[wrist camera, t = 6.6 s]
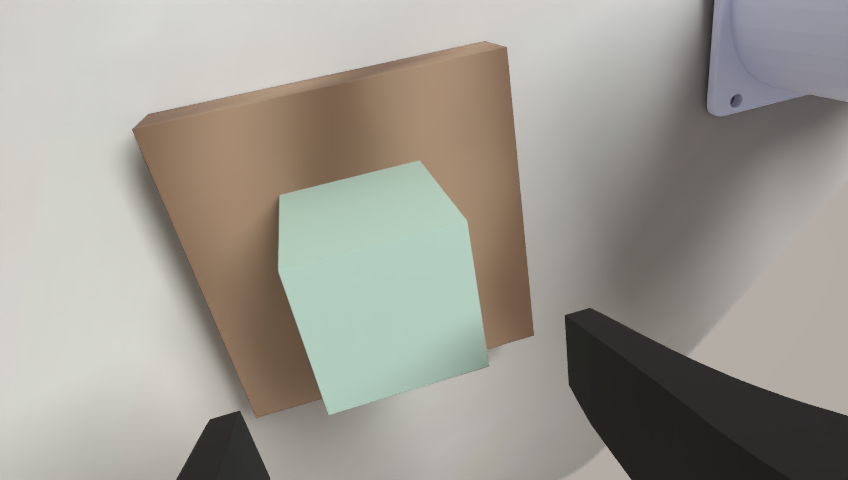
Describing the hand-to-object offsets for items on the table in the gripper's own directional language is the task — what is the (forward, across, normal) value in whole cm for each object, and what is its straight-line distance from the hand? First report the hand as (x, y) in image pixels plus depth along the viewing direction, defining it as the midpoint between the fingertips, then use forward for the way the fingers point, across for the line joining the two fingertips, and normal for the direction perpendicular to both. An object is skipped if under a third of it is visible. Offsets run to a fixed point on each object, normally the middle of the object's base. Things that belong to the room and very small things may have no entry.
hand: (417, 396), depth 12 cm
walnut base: (+9, 0, 0) cm, 9 cm away
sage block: (+7, 0, 0) cm, 7 cm away
